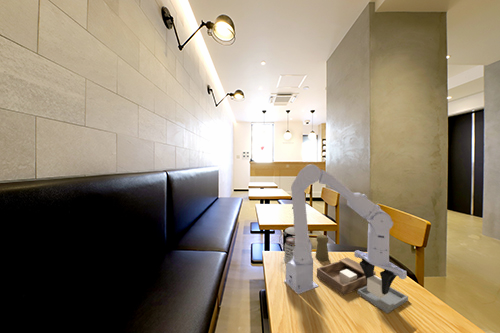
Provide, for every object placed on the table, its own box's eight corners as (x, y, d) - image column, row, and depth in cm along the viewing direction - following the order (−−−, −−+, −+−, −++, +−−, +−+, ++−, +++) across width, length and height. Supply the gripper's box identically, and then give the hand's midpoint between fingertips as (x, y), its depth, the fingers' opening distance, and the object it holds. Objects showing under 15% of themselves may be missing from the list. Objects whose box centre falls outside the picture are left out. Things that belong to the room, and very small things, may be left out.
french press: (301, 269, 76) (302, 210, 76) (275, 261, 82) (276, 206, 82) (306, 259, 84) (307, 205, 84) (283, 252, 90) (284, 202, 90)
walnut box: (343, 296, 60) (343, 284, 60) (316, 276, 71) (316, 267, 71) (375, 281, 68) (375, 271, 68) (347, 266, 79) (347, 257, 78)
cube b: (349, 288, 63) (349, 277, 63) (339, 282, 67) (339, 271, 67) (356, 285, 65) (356, 274, 65) (346, 279, 69) (346, 268, 69)
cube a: (387, 294, 57) (387, 282, 57) (380, 298, 56) (380, 285, 56) (374, 286, 61) (374, 275, 61) (367, 290, 59) (367, 278, 59)
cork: (331, 262, 82) (331, 238, 81) (317, 262, 82) (318, 238, 82) (325, 255, 88) (326, 233, 88) (313, 255, 88) (313, 233, 88)
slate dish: (387, 314, 53) (387, 308, 53) (357, 294, 61) (357, 289, 61) (408, 301, 58) (408, 296, 58) (378, 285, 66) (378, 280, 66)
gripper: (412, 254, 54) (411, 299, 54) (363, 236, 67) (362, 273, 67) (399, 259, 50) (398, 307, 51) (350, 239, 64) (350, 278, 64)
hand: (377, 288), depth 58 cm, fingers closed on cube a, 4 cm apart
